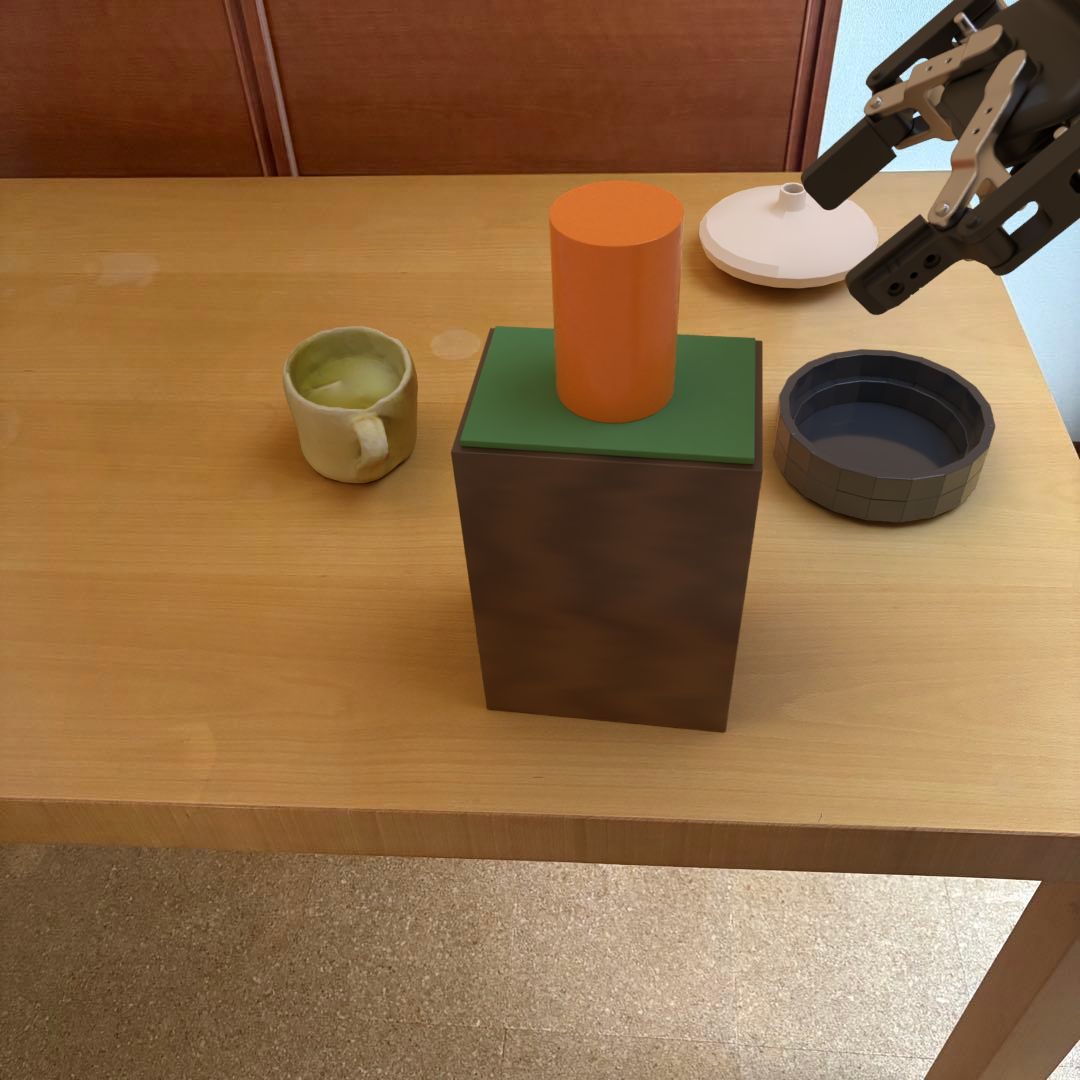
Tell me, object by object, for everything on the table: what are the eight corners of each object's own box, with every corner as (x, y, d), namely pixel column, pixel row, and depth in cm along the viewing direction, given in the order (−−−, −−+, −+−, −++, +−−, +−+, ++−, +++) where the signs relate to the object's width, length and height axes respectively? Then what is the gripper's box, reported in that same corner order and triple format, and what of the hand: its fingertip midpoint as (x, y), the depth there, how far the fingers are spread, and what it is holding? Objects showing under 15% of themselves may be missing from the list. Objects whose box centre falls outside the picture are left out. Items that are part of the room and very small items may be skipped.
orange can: (677, 354, 51) (687, 181, 45) (670, 427, 47) (680, 248, 41) (564, 349, 52) (558, 178, 45) (548, 420, 48) (539, 243, 42)
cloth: (754, 344, 52) (755, 337, 52) (753, 465, 46) (754, 457, 45) (496, 332, 54) (495, 325, 54) (460, 446, 48) (459, 439, 47)
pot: (963, 403, 80) (978, 354, 76) (992, 535, 70) (1010, 485, 66) (771, 392, 81) (778, 344, 78) (773, 520, 72) (780, 471, 68)
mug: (274, 394, 81) (287, 300, 73) (403, 408, 84) (430, 319, 76) (271, 523, 74) (286, 433, 67) (412, 532, 77) (442, 448, 70)
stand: (729, 602, 67) (762, 340, 52) (725, 732, 60) (763, 471, 45) (514, 584, 68) (489, 327, 54) (486, 709, 62) (450, 451, 47)
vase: (768, 329, 88) (778, 254, 83) (663, 249, 97) (666, 177, 92) (910, 274, 93) (928, 200, 88) (796, 203, 102) (806, 132, 97)
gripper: (1081, -203, 39) (748, 116, 48) (1282, -96, 29) (817, 283, 38) (1168, -56, 43) (845, 216, 51) (1372, 83, 33) (931, 392, 41)
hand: (833, 244), depth 44 cm, fingers open, 8 cm apart
